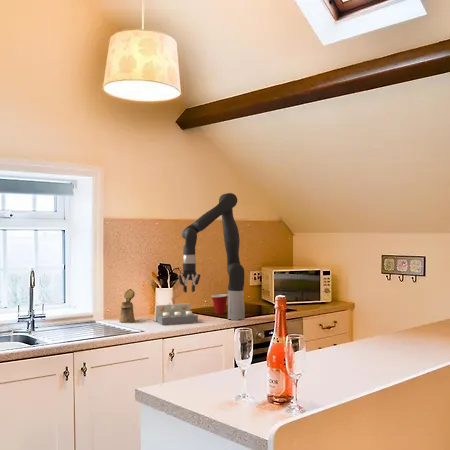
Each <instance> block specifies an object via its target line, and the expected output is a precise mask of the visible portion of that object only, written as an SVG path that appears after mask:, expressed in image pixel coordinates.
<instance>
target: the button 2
mask: <svg viewBox="0 0 450 450" xmlns="http://www.w3.org/2000/svg"><path fill="white" fill-rule="evenodd" d="M192 314H193V311H192V310H190V311H186V316H191V315H192Z"/></svg>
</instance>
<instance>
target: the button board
mask: <svg viewBox="0 0 450 450" xmlns="http://www.w3.org/2000/svg"><path fill="white" fill-rule="evenodd" d="M198 321H199V315H197V314H195V313H192V315H191V316H186V314H181V316H176V317H175V315H169V317H163V316H157V322H156V323H157V324H159V325H161V326H167V325H169V324H171V325H181V324H180V323H184V324H194V323H193V322H198ZM169 326H170V325H169Z"/></svg>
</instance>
